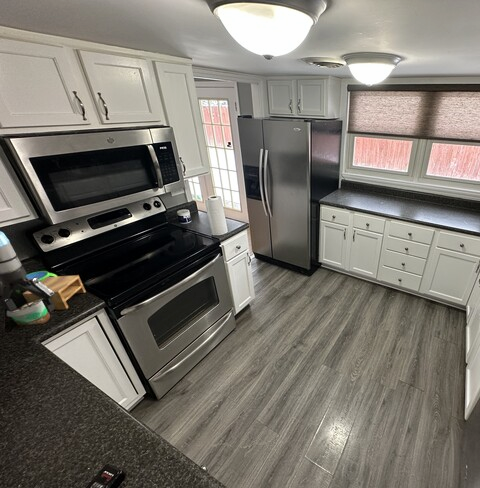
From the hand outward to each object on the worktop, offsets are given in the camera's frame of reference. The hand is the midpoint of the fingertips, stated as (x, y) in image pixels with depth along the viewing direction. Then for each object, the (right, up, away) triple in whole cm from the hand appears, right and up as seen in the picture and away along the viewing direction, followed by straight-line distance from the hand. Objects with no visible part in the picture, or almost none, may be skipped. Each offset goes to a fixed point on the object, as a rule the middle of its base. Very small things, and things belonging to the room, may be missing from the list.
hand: (33, 311), depth 113 cm
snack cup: (-19, +4, +22) cm, 29 cm away
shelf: (-5, +1, +17) cm, 17 cm away
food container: (-1, -6, +3) cm, 7 cm away
